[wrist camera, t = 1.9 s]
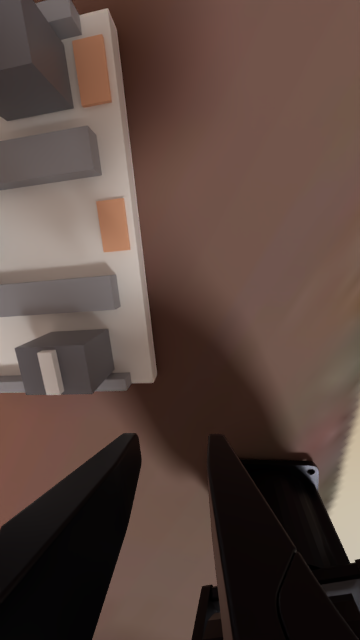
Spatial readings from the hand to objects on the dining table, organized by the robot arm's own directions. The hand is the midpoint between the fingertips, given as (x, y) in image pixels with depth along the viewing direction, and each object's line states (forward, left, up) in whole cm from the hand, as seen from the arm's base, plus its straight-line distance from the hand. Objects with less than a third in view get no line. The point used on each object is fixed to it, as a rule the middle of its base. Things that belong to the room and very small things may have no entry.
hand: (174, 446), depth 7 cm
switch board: (+11, -8, -10) cm, 17 cm away
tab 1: (+8, -15, -9) cm, 19 cm away
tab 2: (+8, 0, -9) cm, 11 cm away
